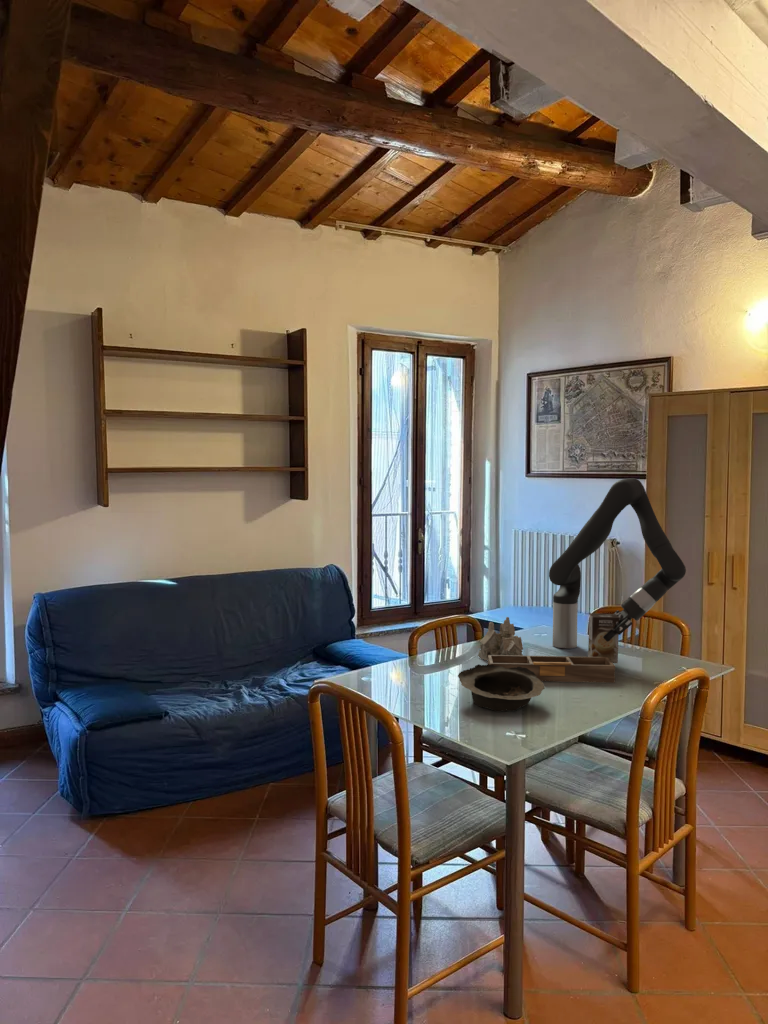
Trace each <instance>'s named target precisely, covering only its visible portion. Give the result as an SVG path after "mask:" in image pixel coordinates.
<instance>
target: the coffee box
mask: <svg viewBox="0 0 768 1024" xmlns="http://www.w3.org/2000/svg"><path fill="white" fill-rule="evenodd" d="M588 619H589V622H588V644H587V645H588V647H587V648H588V650H587V657H608V658H609V659H610V661H611V662H612V663H613V664H618V663H619V636H620V635H619V634H617V635H616V634H615V636H614V637H613V638H612V639H611V640H610V641H608V642H607V641H606V640H605V639H604V638H603V637H604V635H606V634H607V633H608V632H609V631H610V630H611V629H612V628H613V627H614V626H615V623H616V622H618V624H619V617H618V616H617V615H615V614H614V613H594V612H593V613H592V612H590V613H589V618H588ZM618 629H619V628H618ZM611 631H612V630H611Z"/></svg>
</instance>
